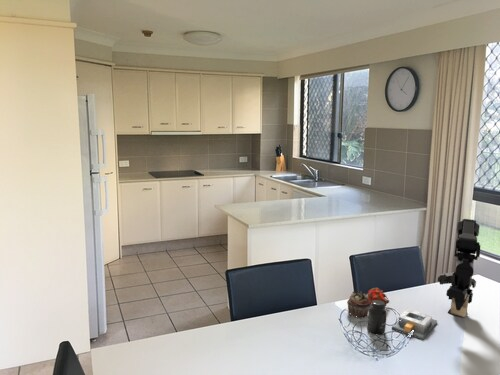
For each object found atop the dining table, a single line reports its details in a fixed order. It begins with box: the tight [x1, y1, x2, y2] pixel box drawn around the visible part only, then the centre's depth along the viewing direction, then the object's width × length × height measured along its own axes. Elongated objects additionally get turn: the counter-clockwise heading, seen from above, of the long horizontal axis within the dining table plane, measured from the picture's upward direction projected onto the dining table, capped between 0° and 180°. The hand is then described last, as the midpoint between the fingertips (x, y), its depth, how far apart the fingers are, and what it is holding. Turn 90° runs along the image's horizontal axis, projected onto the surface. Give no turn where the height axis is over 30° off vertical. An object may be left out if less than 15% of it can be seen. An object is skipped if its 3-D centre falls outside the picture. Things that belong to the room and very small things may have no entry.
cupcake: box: [346, 290, 371, 319], centre depth 181 cm, size 10×10×10 cm
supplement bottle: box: [366, 300, 388, 336], centre depth 167 cm, size 7×7×12 cm
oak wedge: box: [450, 294, 469, 318], centre depth 163 cm, size 3×5×8 cm, turn 51°
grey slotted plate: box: [391, 308, 438, 340], centre depth 173 cm, size 18×12×4 cm, turn 140°
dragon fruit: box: [366, 287, 390, 307], centre depth 190 cm, size 8×8×12 cm
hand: (459, 308), depth 163 cm, fingers closed on oak wedge, 3 cm apart
